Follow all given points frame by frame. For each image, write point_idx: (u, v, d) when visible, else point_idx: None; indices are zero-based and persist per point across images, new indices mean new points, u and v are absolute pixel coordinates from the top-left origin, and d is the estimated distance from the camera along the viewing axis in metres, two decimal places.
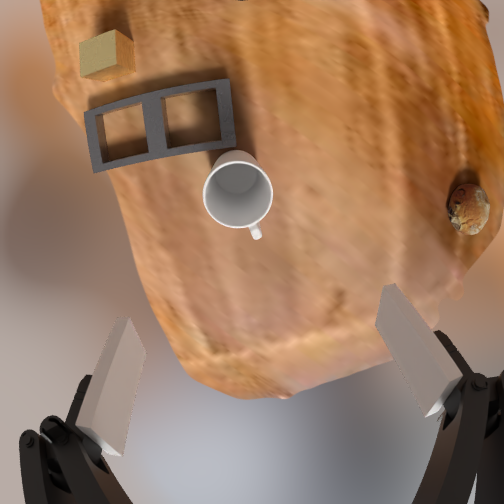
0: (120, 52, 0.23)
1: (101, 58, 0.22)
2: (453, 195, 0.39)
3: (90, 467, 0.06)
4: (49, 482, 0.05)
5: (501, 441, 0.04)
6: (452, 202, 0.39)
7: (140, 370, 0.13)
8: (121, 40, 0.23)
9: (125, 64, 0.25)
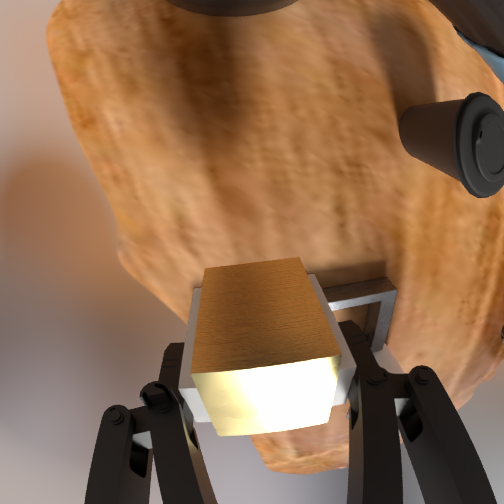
0: None
1: (286, 415, 0.10)
2: None
3: (187, 442, 0.07)
4: (127, 467, 0.06)
5: (430, 446, 0.06)
6: None
7: None
8: None
9: None
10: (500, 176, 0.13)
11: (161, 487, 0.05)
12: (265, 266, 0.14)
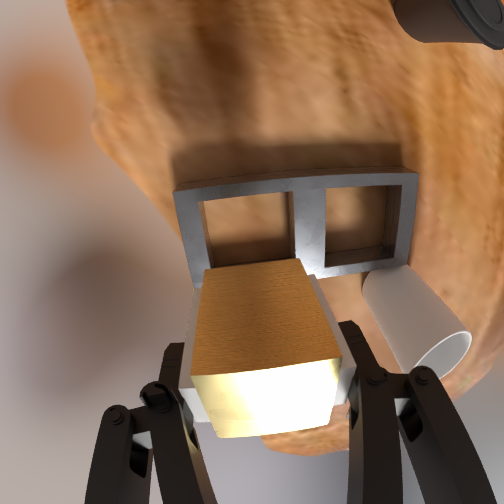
0: None
1: (286, 417, 0.10)
2: None
3: (187, 442, 0.07)
4: (127, 466, 0.06)
5: (430, 446, 0.06)
6: None
7: None
8: None
9: None
10: (500, 27, 0.07)
11: (161, 487, 0.05)
12: (265, 267, 0.14)
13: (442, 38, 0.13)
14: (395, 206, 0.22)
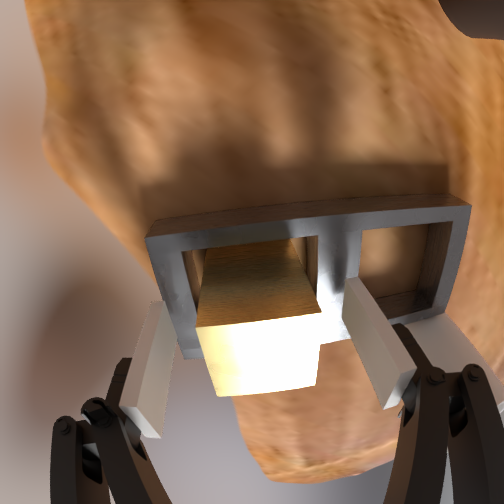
0: None
1: (277, 374, 0.12)
2: None
3: (131, 453, 0.06)
4: (81, 473, 0.06)
5: (471, 440, 0.05)
6: None
7: (173, 353, 0.14)
8: None
9: None
10: None
11: (115, 499, 0.05)
12: (260, 246, 0.16)
13: (500, 34, 0.07)
14: (440, 246, 0.16)
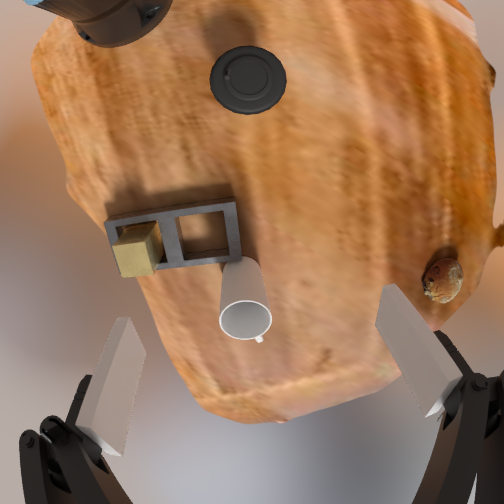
0: (152, 256, 0.37)
1: (138, 266, 0.36)
2: (428, 272, 0.48)
3: (90, 467, 0.06)
4: (49, 482, 0.05)
5: (501, 441, 0.04)
6: (427, 278, 0.48)
7: (140, 370, 0.13)
8: (150, 242, 0.37)
9: (157, 260, 0.39)
10: (261, 95, 0.25)
11: None
12: (144, 225, 0.40)
13: None
14: None
